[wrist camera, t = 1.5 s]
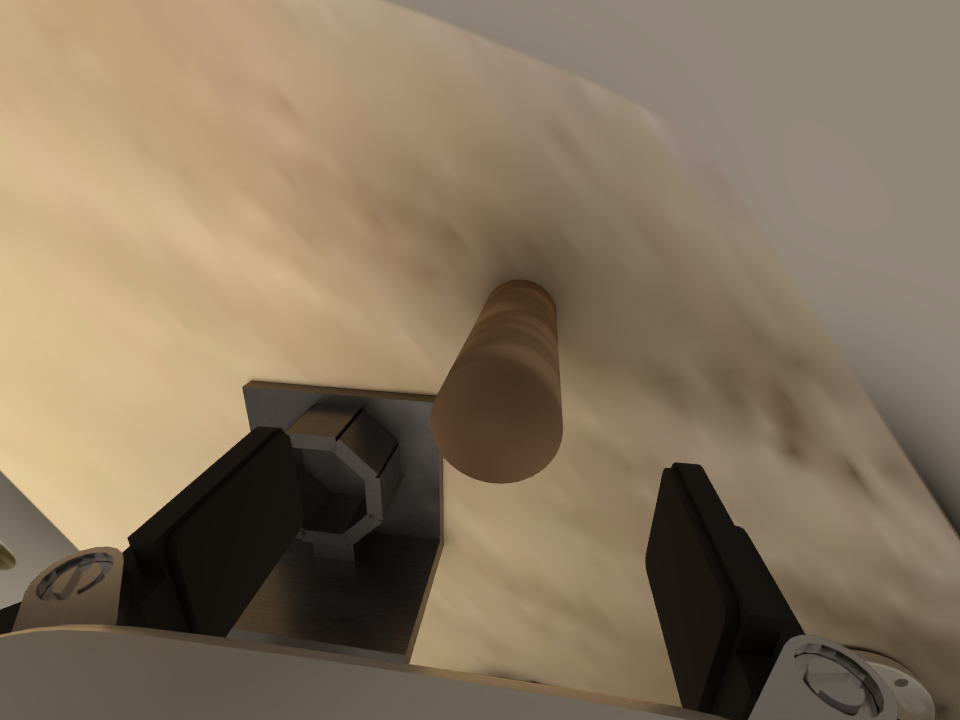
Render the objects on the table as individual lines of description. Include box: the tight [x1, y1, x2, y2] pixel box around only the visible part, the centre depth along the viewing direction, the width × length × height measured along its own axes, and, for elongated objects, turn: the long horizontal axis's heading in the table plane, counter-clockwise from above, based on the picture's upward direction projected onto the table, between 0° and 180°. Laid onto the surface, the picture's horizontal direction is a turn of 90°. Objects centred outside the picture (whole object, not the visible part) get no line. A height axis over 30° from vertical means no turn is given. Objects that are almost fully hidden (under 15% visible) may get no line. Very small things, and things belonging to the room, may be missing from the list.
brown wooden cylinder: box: [430, 280, 563, 484], centre depth 21 cm, size 4×4×14 cm
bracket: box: [226, 381, 444, 664], centre depth 29 cm, size 13×14×10 cm
